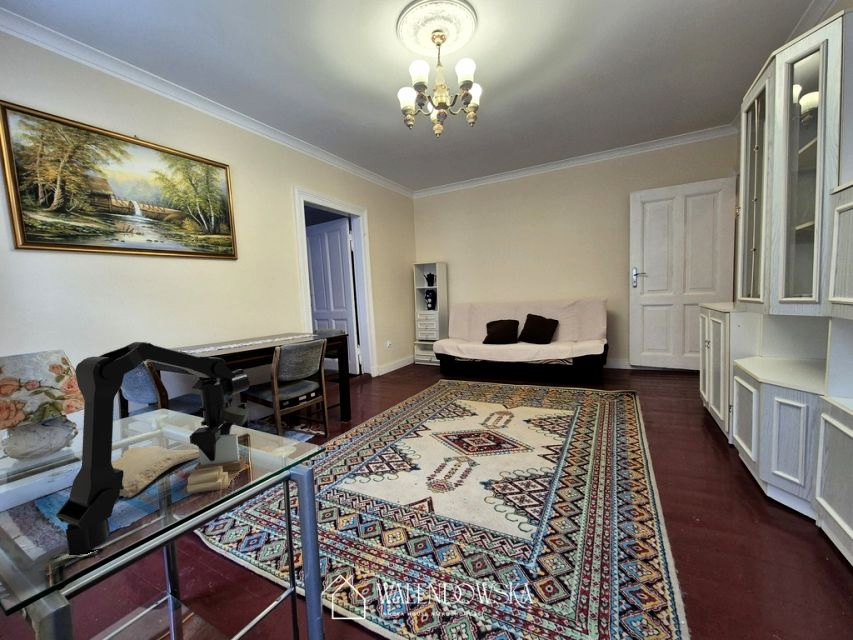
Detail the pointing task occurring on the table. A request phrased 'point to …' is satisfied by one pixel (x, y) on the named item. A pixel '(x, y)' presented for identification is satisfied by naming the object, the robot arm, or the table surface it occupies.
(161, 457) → the tan curved tapered piece
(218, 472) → the offcut upper
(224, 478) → the offcut lower
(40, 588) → the table surface
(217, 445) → the panel
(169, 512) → the table surface
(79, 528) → the robot arm
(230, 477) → the rack
